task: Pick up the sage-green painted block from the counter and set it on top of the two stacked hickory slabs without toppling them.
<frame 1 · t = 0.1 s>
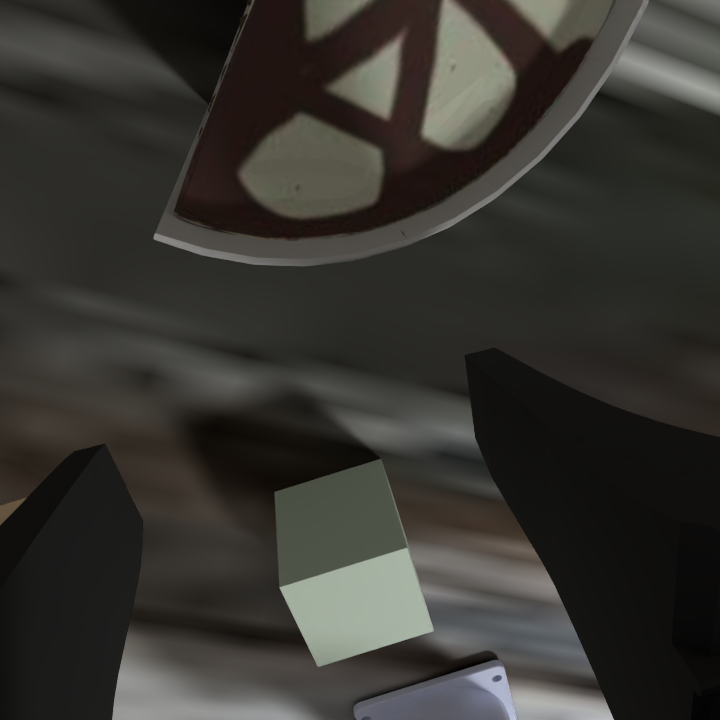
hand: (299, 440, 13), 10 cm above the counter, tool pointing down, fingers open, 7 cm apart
sage block: (342, 514, 27), on the counter
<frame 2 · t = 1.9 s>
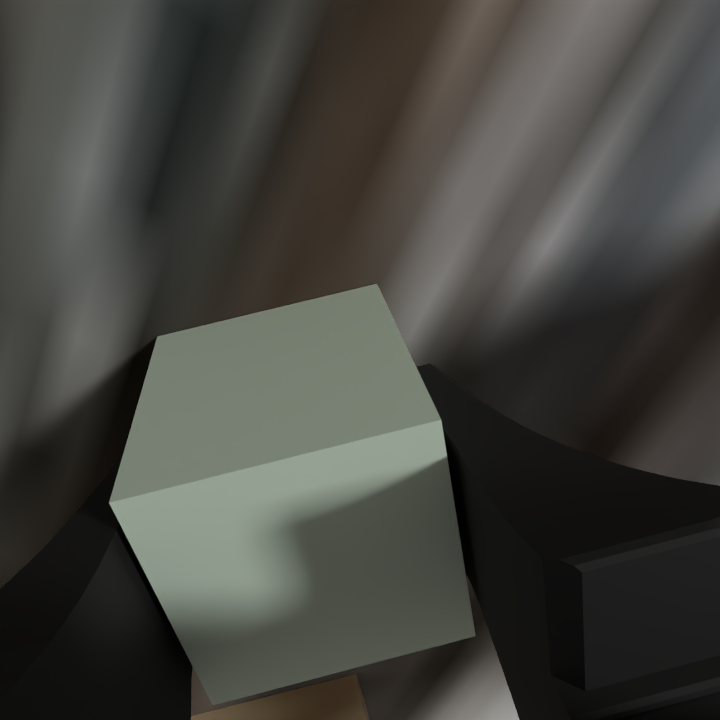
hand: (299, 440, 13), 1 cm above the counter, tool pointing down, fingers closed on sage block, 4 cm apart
sage block: (294, 402, 14), on the counter, touching gripper
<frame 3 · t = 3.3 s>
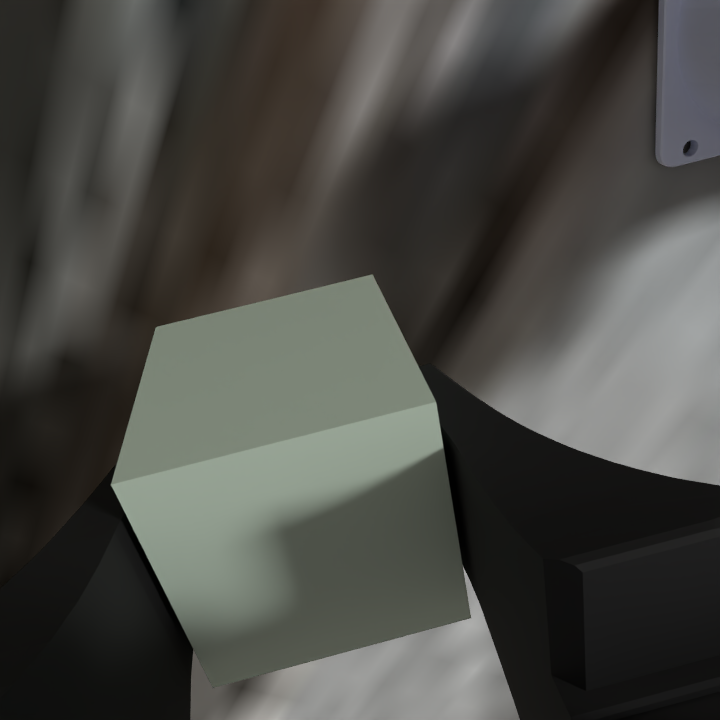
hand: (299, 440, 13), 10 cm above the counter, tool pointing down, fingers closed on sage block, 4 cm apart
sage block: (291, 392, 14), point 8 cm above the counter, touching gripper
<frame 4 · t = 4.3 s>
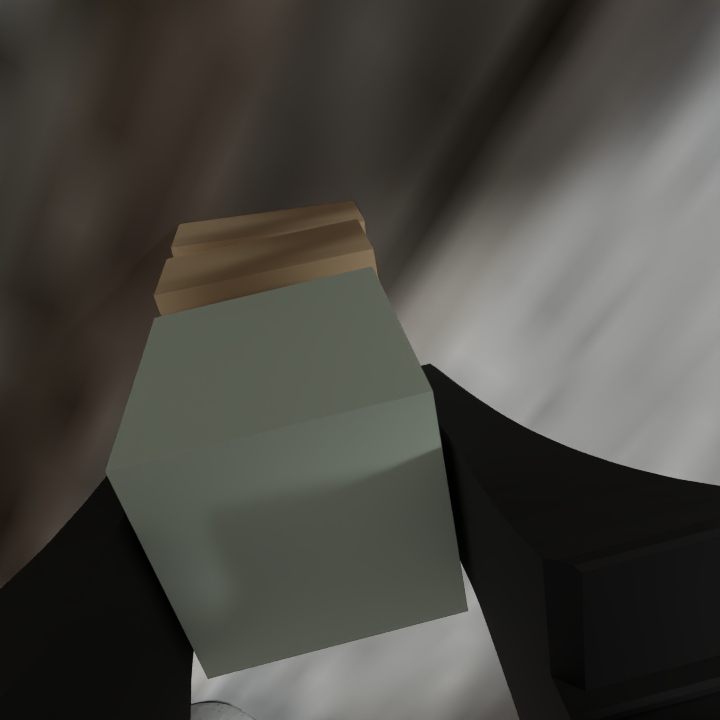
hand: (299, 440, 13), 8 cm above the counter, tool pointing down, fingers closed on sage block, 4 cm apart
slab upper: (284, 324, 18), point 2 cm above the counter, touching slab lower
slab lower: (280, 288, 20), on the counter, touching slab upper
sage block: (290, 384, 14), point 6 cm above the counter, touching gripper
when the fingers open (8 cm above the counter, at t = 4.8 s): sage block drops 1 cm, resting on slab upper.
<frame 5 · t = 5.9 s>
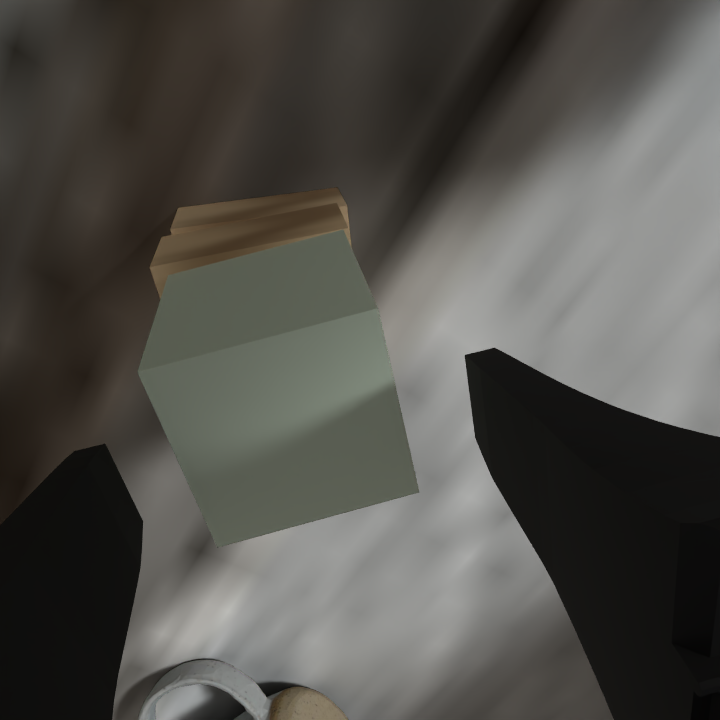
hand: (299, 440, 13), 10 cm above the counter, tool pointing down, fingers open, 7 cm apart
slab upper: (269, 300, 19), point 2 cm above the counter, touching sage block, slab lower
slab lower: (270, 270, 22), on the counter, touching slab upper
ceramic mug: (241, 711, 32), on the counter
sage block: (280, 330, 17), point 5 cm above the counter, touching slab upper
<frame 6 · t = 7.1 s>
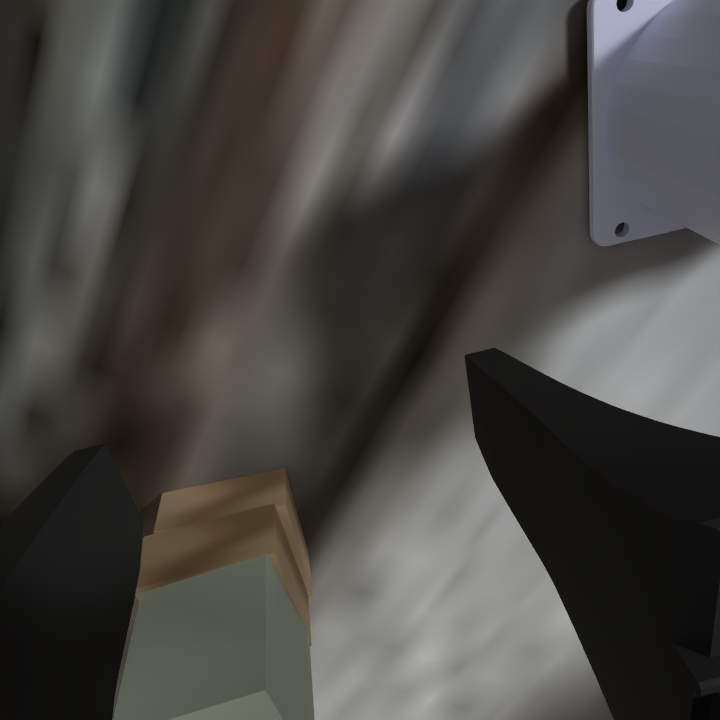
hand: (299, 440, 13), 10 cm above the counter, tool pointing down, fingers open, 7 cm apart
slab upper: (229, 566, 25), point 2 cm above the counter, touching sage block, slab lower
slab lower: (239, 520, 27), on the counter, touching slab upper
sage block: (228, 615, 23), point 5 cm above the counter, touching slab upper
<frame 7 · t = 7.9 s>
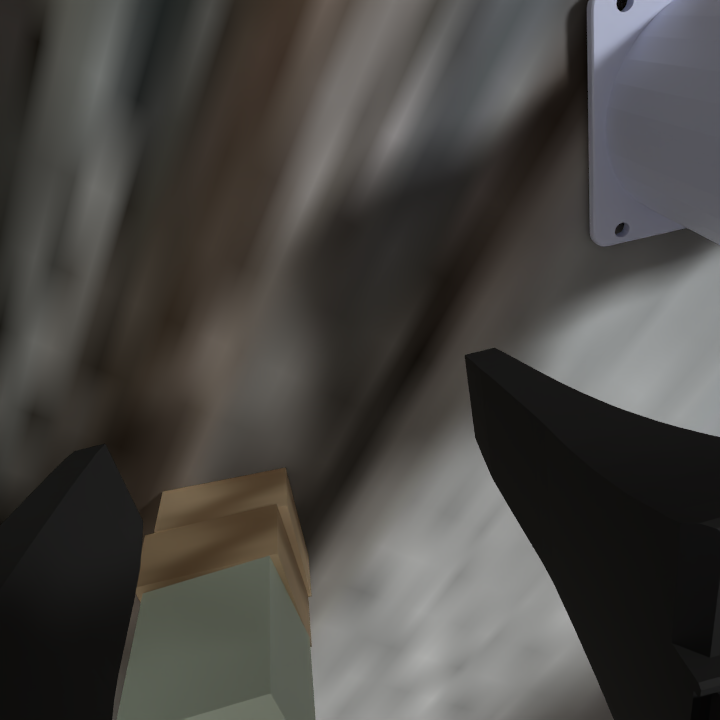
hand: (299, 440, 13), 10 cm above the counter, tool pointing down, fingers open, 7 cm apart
slab upper: (230, 566, 25), point 2 cm above the counter, touching sage block, slab lower
slab lower: (239, 521, 27), on the counter, touching slab upper
sage block: (230, 616, 23), point 5 cm above the counter, touching slab upper
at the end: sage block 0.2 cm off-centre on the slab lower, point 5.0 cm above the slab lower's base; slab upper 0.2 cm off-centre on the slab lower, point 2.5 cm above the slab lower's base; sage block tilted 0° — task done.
